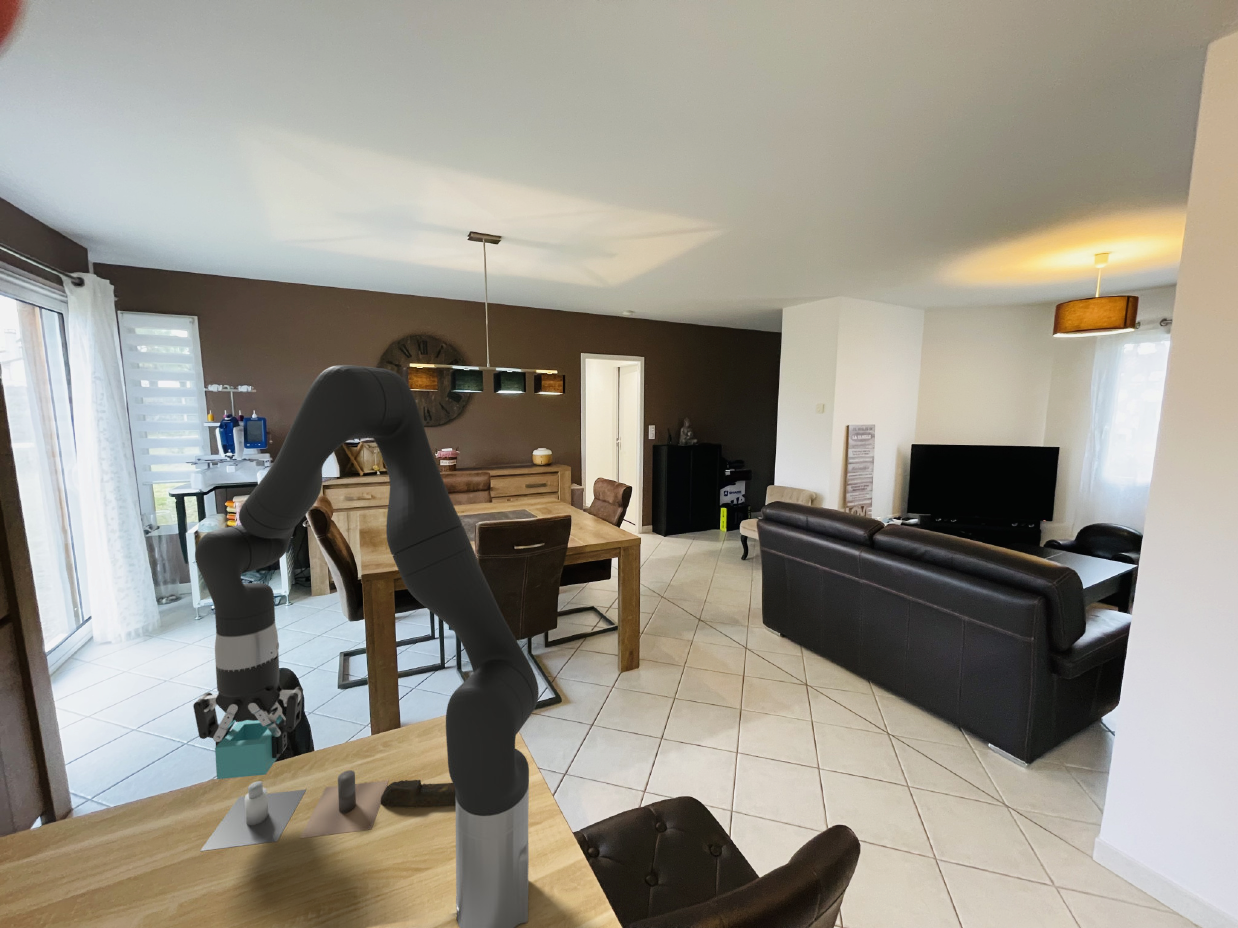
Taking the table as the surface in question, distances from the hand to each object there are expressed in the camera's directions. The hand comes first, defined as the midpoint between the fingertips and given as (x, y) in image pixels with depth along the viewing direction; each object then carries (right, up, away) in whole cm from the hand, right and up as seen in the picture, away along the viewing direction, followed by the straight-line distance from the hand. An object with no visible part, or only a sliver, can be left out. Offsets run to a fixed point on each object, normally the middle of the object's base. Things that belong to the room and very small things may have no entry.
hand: (253, 756), depth 75 cm
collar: (0, -1, 0) cm, 1 cm away
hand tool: (+27, -12, +5) cm, 30 cm away
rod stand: (+12, -11, +4) cm, 17 cm away
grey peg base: (0, -11, +1) cm, 11 cm away
